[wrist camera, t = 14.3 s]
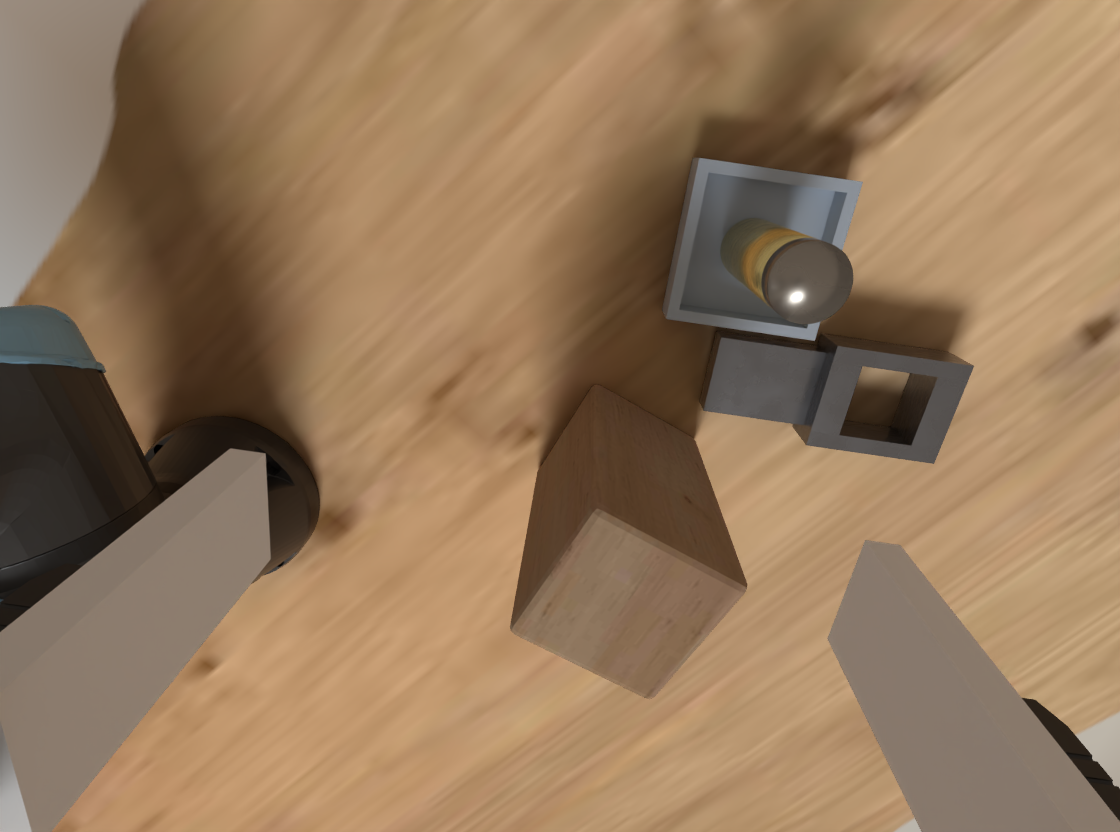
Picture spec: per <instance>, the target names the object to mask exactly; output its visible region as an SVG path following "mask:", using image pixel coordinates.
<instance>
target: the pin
mask: <svg viewBox="0 0 1120 832" xmlns="http://www.w3.org/2000/svg"><path fill="white" fill-rule="evenodd" d="M720 254H721V260H722V263H723V265H724V267H725V268H726V270H727V271H728V272H729V273H730V274H731V275H732V276H734V277H735V278H736V279H737V280H738V281H740V282H741V283H742V284H743V285H744V286H746V287H747V288H748V289H749V290H750V291H751V292H753V293H754V294H755V295H756V296H757V297H759V298H760V299H761V300H762V301H763V302H765V303H766V304H767V305H768V306H769V307H770V308H772V309H773V310H774V311H775V312H776V313H778V314H779V315H780V316H781V317H783V318H784V319H786V320H788V321H790V322H792V323H796V324H813V323H817V322H821V321H823V320H825V319H827V318H829V317H831V316H832V315H833V314H835V313H836V312H837V311H838V310H839V309H840V308H841V307H842V306H843V304H844V303H845V302H846V300H847V298H848V296H849V294H850V292H851V289H852V285H853V270H852V266H851V263H850V261H849V259H848V257H847V256H846V254H845V253H844V252H843V251H842V250H841V249H839V248H838V247H836V246H835V245H832V244H830V243H827V242H824V241H822V240H819V239H816V238H813V237H811V236H808V235H805V234H802V233H800V232H797V231H794V230H791V229H789V228H786V227H783V226H780V225H778V224H775V223H772V222H769V221H767V220H764V219H760V218H749V219H745V220H742V221H740V222H738V223H736V224H735V225H734V226H732V227H731V228H730V229H729V231H728V232H727V233H726V235H725V236H724V238H723V241H722V244H721V251H720Z"/></svg>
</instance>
